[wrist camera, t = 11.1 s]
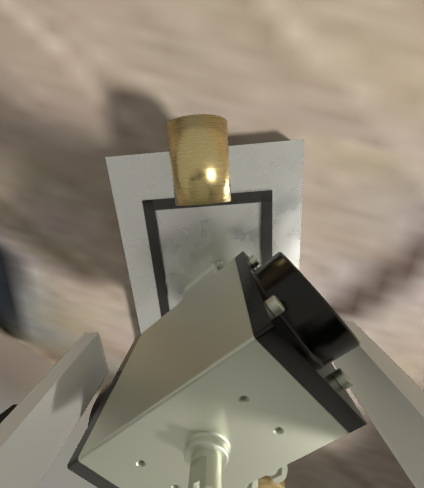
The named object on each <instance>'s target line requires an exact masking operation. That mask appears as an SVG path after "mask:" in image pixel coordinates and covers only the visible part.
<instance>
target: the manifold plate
mask: <svg viewBox="0 0 424 488" xmlns="http://www.w3.org/2000/svg"><path fill="white" fill-rule="evenodd" d="M166 131H167V139H168V147H169V151H167V152H156V153H145V154H134V155H123V156H112V157H105V159H106V164H107V169H108V174H109V178H110V183H111V188H112V193H113V198H114V203H115V208H116V213H117V218H118V223H119V228H120V233H121V238H122V243H123V248H124V253H125V258H126V262H127V267H128V272H129V277H130V282H131V287H132V292H133V297H134V302H135V307H136V312H137V317H138V322H139V327H140V332H141V334H142V333H143V332H144V331H145V330H147V329H148V328H149V327H150V326H151V325H153V324H154V323H155V322H156V321H158V320H159V319H160V318H161V317H162V316H164V315H165V314H166V313H167V312H169V311H170V310H171V309H172V308H174V307H175V306H176V305H177V304H178V303H179V302H180V301H182V300H183V296H184V294H185V293H184V289H185V285H186V284H188V283H189V282H190V281H191V280H192V279H194V278H195V277H196V276H197V275H198V274H200V273H201V272H202V271H203V270H204V269H206V268H207V267H208V266H209V265H210V264H212V263H213V262H215V263H217V262H218V261H220V262H221V261H222V262H223V264H224V265H223V266H225V265H226V264H228V263H229V262H230V261H231V260H232V259H234V258H235V257H236V256H237V255H239V254H240V253H241V252H242V251H244V252H245V253H246V254H247V256H248V257H249V258H250V257H251V256H252V255H254V256H255V257H256V258H257V260H258V261H259V262H260V264H259V265H258V266H257V267H258V268H259V267H260V266H261V265H263V264H264V263H265V262H266V261H268V260H269V259H270V258H272V257H273V256H274V255H275V254H277V253H278V252H282V253H283V254H284V255H285V256H286V257H287V258H288V259H289V260H290V261H291V262H292V263H293V264H294V266H295V267H296V268H297V269H298V270H299V260H300V234H301V209H302V184H303V158H304V139H301V140H289V141H278V142H267V143H256V144H245V145H234V146H228V128H227V120H226V119H225V118H223V117H220V116H216V115H206V114H200V115H188V116H183V117H179V118H176V119H173V120H171V121H169V122H168V123H167V124H166Z"/></svg>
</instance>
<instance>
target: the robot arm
mask: <svg viewBox="0 0 424 488" xmlns="http://www.w3.org/2000/svg"><path fill="white" fill-rule="evenodd" d="M344 322H345V324H346V325H347V326H348V327H349V328H350V329H351V331H352V332H353V333H354V334H355V336H356V337H357V338H358V339H359V341H360V345H359V346H358V347H356V348H355V349H353V350H351V351H350V352H348V353H346V354H345V355H343V356H341V357H340V358H338V359H336V360H335V361H334V365H335V367H336V368H337V369H339V368H341V369H342V370H343V371H344V372H345V373H346V375H347V376H348V377H349V379H350V380H351V382H352V384H353V385H352V386H351V387H349V388H350V389H351V391H352V392H353V394H354V395H355V397H356V398H357V400H358V402H359V403H360V405H361V406H362V408H363V409H364V411H365V412H366V414H367V415H368V417H369V418H370V420H371V421H372V423H373V424H374V426H375V427H376V429H377V430H378V432H379V433H380V435H381V436H382V438H383V440H384V441H385V443H386V444H387V446H388V447H389V449H390V450H391V452H392V453H393V455H394V456H395V458H396V459H397V461H398V462H399V464H400V465H401V467H402V468H403V470H404V471H405V473H406V474H407V476H408V477H409V479H410V481H411V482H412V484H413V485H414V487H415V488H424V391H423V390H422V389H421V388H420V387H419V386H418V385H417V384H416V383H415V382H414V381H413V380H412V379H411V378H410V377H409V376H408V375H407V374H406V373H405V372H404V371H403V370H402V369H401V368H400V367H399V366H398V365H397V364H396V363H395V362H394V361H393V360H392V359H391V358H390V357H389V356H388V355H387V354H386V353H385V352H384V351H383V350H382V349H381V348H380V347H379V346H378V345H377V344H376V343H375V342H374V341H372V340H371V339H370V338H369V337H368V336H367V335H366V334H365V333H364V332H363V331H362V330H361V329H360V328H359V327H358V326H357V325H356V324H355V323H354V322H353V321H344ZM108 372H109V371H108V367H107V363H106V359H105V355H104V351H103V347H102V344H101V340H100V336H99V332H91V333H85V334H84V335H83V336H82V337H81V338H80V339H79V340H78V341H77V342H76V343H75V344H74V346H73V347H72V348H71V349H70V350H69V351H68V352H67V353H66V354H65V355H64V356H63V357H62V358H61V359H60V360H59V362H58V363H57V364H56V365H55V366H54V367H53V368H52V369H51V370H50V371H49V372H48V373H47V374H46V375H45V376H44V377H43V379H42V380H41V381H40V382H39V383H38V384H37V385H36V386H35V387H34V388H33V389H32V390H31V391H30V393H28V395H27V396H26V397H25V398H24V399H23V400H22V401H21V402H20V403H19V404H18V405H12V406H11V407H10V408H8V409H7V410H6V411H4V412H3V413H2V414H0V488H38V486H39V485H40V483H41V481H42V480H43V478H44V476H45V475H46V473H47V472H48V470H49V468H50V466H51V465H52V463H53V462H54V460H55V458H56V457H57V455H58V453H59V452H60V450H61V449H62V447H63V445H64V444H65V442H66V440H67V439H68V437H69V436H70V434H71V432H72V431H73V429H74V427H75V426H76V424H77V422H78V420H79V419H80V417H81V416H82V414H83V413H84V411H85V409H86V408H87V406H88V404H89V403H90V401H91V399H92V397H93V396H94V395H95V393H96V391H97V390H98V388H99V386H100V385H101V383H102V381H103V380H104V378H105V377H106V375H107V373H108Z"/></svg>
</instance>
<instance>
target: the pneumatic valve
mask: <svg viewBox="0 0 424 488" xmlns="http://www.w3.org/2000/svg"><path fill="white" fill-rule="evenodd" d="M259 264H260V262H259V261H258V260H257V258H256V257H255V256H254V255H252V256H251V257H250V258H249V257H248V256H247V254H246V253H245V252H244V251H242V252H241V253H240V254H239V255H237V256H236V257H235V258H234V259H232V260H231V261H230V262H229V263H228V264H226V265H225V266H223V265H224V264H223V262H222V261H221V262H220V261H218V262H217V263H215V262H213V263H212V264H210V265H209V266H208V267H207V268H206V269H204V270H203V271H202V272H201V273H200V274H198V275H197V276H196V277H195V278H194V279H192V280H191V281H190V282H189V283H188V284H186V285H185V289H184V293H185V294H184V296H183V300H182V301H180V302H179V303H178V304H177V305H176V306H175V307H174V308H172V309H171V310H170V311H169V312H167V313H166V314H165V315H164V316H162V317H161V318H160V319H159V320H158V321H156V322H155V323H154V324H153V325H151V326H150V327H149V328H148V329H147V330H145V331H144V332H143V333H142V334H140V335H139V336H138V337H137V338H135V340H134V342H133V344H132V346H131V348H130V349H129V351H128V353H127V355H126V357H125V359H124V361H123V363H122V364H121V366H120V368H119V370H118V372H117V374H116V376H115V377H114V379H113V381H112V382H111V383H109V384H108V385H107V386H106V387H105V388H104V389H103V390H102V391H101V393H100V394H99V396H98V397H97V399H96V401H95V403H94V405H93V408H92V411H91V414H90V418H89V423H88V428H87V430H86V431H85V433H84V435H83V437H82V439H81V441H80V443H79V444H78V446H77V448H76V450H75V452H74V454H73V456H72V458H71V459H70V461H69V463H68V469H69V470H71V471H73V472H74V473H76V474H77V475H79V476H80V477H82V478H84V479H85V480H87V481H88V482H90V483H91V484H93V485H95V486H96V487H98V488H258V479H260V478H262V477H264V476H266V475H267V476H270V478H271V479H272V480H273V481H274V482H275V483H280V482H282V481H284V480H285V478H286V476H287V472H288V467H287V464H289V463H291V462H293V461H295V460H297V459H299V458H301V457H303V456H305V455H307V454H309V453H311V452H313V451H315V450H317V449H319V448H321V447H323V446H325V445H327V444H329V443H331V442H333V441H335V440H337V439H339V438H341V437H343V436H345V435H346V434H348V433H350V432H352V431H354V430H356V429H358V428H360V427H362V426H364V425H366V424H367V423H366V421H365V420H364V418H363V417H362V415H361V413H360V412H359V410H358V409H357V407H356V405H355V404H354V402H353V401H352V399H351V397H350V396H349V394H348V393H347V391H346V390H345V389H347V388H349V387H351V386H352V385H353V384H352V382H351V380H350V379H349V377H348V376H347V375H346V373H345V372H344V371H343V370H342V369H341V368H339V369H337V370H336V369H335V368H334V366H333V365H332V363H331V362H333V361H335V360H336V359H338V358H340V357H341V356H343V355H345V354H346V353H348V352H350V351H351V350H353V349H355V348H356V347H358V346H359V345H360V341H359V339H358V338H357V337H356V336H355V334H354V333H353V332H352V331H351V329H350V328H349V327H348V326H347V325H346V324H345V322H344V321H343V320H342V319H341V318H340V316H339V315H338V314H337V313H336V312H335V311H334V310H333V308H332V307H331V306H330V305H329V304H328V303H327V301H326V300H325V299H324V298H323V297H322V296H321V295H320V293H319V292H318V291H317V290H316V289H315V288H314V287H313V286H312V284H311V283H310V282H309V281H308V280H307V279H306V278H305V277H304V275H303V274H302V273H301V272H300V271H299V270H298V269H297V268H296V267H295V266H294V264H293V263H292V262H291V261H290V260H289V259H288V258H287V257H286V256H285V255H284V254H283V253H282V252H278V253H277V254H275V255H274V256H273V257H272V258H270V259H269V260H268V261H266V262H265V263H264V264H263V265H261V266H260V267H259V268H258V267H257V266H258V265H259Z"/></svg>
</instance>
